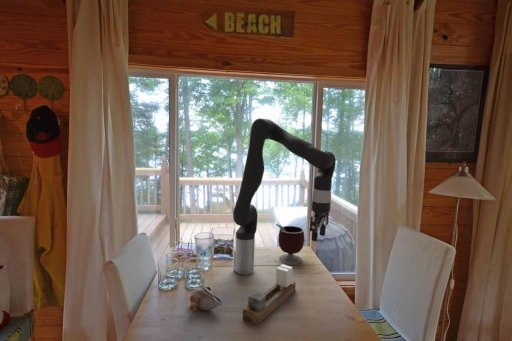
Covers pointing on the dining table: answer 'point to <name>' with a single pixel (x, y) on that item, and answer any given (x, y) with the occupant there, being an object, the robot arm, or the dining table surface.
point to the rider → (284, 276)
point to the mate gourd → (290, 243)
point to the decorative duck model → (204, 299)
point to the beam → (265, 302)
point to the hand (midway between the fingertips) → (318, 238)
